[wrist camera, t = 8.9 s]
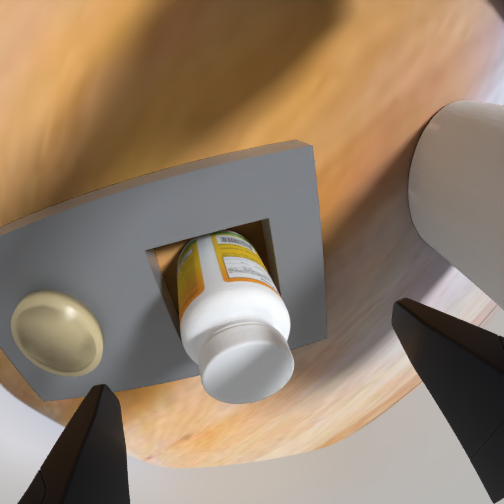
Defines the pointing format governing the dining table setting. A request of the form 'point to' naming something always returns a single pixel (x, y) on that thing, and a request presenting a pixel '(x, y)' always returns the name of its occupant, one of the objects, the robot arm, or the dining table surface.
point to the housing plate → (150, 268)
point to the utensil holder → (463, 191)
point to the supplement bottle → (232, 319)
